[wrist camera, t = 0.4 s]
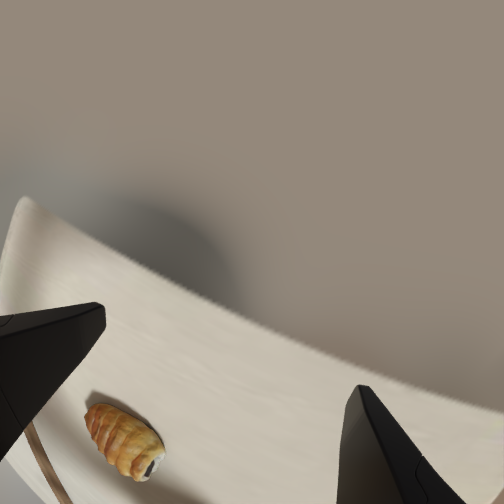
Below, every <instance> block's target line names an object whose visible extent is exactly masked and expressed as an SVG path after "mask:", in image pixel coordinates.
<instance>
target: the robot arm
mask: <svg viewBox="0 0 504 504" xmlns="http://www.w3.org/2000/svg"><path fill="white" fill-rule="evenodd" d="M105 328H106V313H105V307H104V306H103V305H101V304H99V303H97V302H91V303H84V304H78V305H72V306H66V307H59V308H53V309H46V310H40V311H33V312H26V313H19V314H15V315H14V314H12V315H5V316H0V462H1V460H2V459H3V457H4V456H5V455H6V453H7V452H8V451H9V449H10V448H11V447H12V445H13V444H14V443H15V442H16V440H17V439H18V438H19V436H20V435H21V434H22V433H23V430H25V428H26V427H27V426H28V425H29V423H30V422H31V421H32V420H33V418H34V417H35V416H36V415H37V413H38V412H39V411H40V410H41V409H42V407H43V406H44V405H45V404H46V403H47V401H48V400H49V399H50V398H51V397H52V395H53V394H54V393H55V392H56V391H57V389H58V388H59V387H60V386H61V385H62V384H63V382H64V381H65V380H66V379H67V378H68V377H69V375H70V374H71V373H72V372H73V371H74V370H75V368H76V367H77V366H78V365H79V364H80V363H81V362H82V360H83V359H84V358H85V357H86V355H87V354H88V353H89V351H90V350H91V348H92V347H93V346H94V344H95V343H96V341H97V340H98V339H99V337H100V336H101V335H102V333H103V332H104V330H105ZM336 504H466V503H465V502H464V501H463V500H462V499H461V498H460V497H459V496H458V495H457V494H456V493H455V492H454V491H453V490H452V488H451V487H450V486H449V485H448V484H447V483H446V482H445V481H444V480H443V479H442V478H441V477H440V476H439V474H438V473H437V472H436V471H435V470H434V468H433V467H432V466H431V465H430V464H429V462H428V461H427V460H426V458H425V457H424V456H422V453H421V452H420V451H419V449H418V448H417V447H416V446H415V444H414V443H413V442H412V440H411V439H410V438H409V436H408V435H407V434H406V433H405V431H404V430H403V429H402V427H401V426H400V425H399V424H398V422H397V421H396V420H395V418H394V417H393V416H392V415H391V413H390V412H389V411H388V409H387V408H386V407H385V406H384V404H383V403H382V402H381V400H380V399H379V398H378V397H377V395H376V394H375V393H374V392H373V390H372V389H371V388H370V387H369V386H365V385H357V386H356V387H355V389H354V390H353V392H352V394H351V396H350V398H349V399H348V401H347V404H346V407H345V415H344V422H343V429H342V435H341V442H340V454H339V475H338V490H337V502H336Z"/></svg>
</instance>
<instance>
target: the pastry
mask: <svg viewBox="0 0 504 504" xmlns="http://www.w3.org/2000/svg"><path fill="white" fill-rule="evenodd" d="M84 418H85V421H86V426H87V429H88V430H89V432H90V434H91V436H92V437H91V438H92V440H93V441H94V442H95V443H96V444H97V445H98V450H99V451H100V452H101V453H103V454H104V455H105V457H106V459H107V462H108V463H109V464H111V465H115V466H116V467H117V469H118V471H119V473H120V474H122V475H124V476H131V477H132V478H133V479H134V480H135V481H141V482H143V481H147V480H149V479H150V476H151V474H152V472H155V471H156V470H157V469H158V466H159V463H160V460H163V459H164V457H165V455H166V451H165V448H164V446H163V445H162V443H161V441H160V439H159V437H158V436H157V434H156V433H155V432H154V431H153V430H151V429H150V428H148V427H147V426H146V425H145V424H144V423H143V422H141V421H139V420H138V419H136V418H134V417H132V416H131V415H129V414H127V413H125V412H123V411H121V410H119V409H118V408H116V407H113V406H111V405H109V404H103V403H99V404H94V405H93V406H91V407H90V409H89V410H88V412H87V413H86V414H85V416H84Z"/></svg>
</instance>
